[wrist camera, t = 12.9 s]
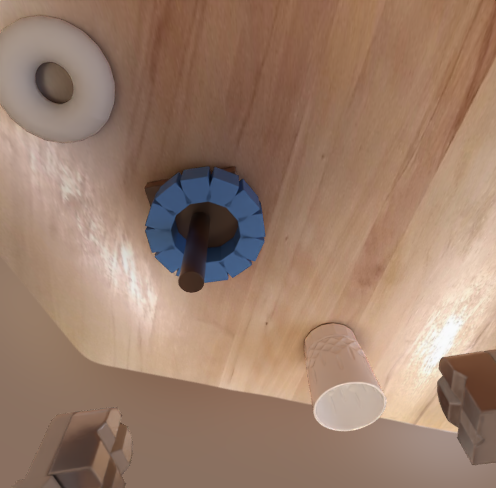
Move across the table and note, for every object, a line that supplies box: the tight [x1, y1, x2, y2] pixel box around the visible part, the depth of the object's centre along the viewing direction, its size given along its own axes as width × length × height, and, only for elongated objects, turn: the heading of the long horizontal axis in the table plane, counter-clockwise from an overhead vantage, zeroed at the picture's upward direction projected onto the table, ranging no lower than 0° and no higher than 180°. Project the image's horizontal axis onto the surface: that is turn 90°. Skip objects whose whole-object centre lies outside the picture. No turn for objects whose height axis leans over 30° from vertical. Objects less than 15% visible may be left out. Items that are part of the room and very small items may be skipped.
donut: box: [0, 15, 115, 143], centre depth 33 cm, size 10×3×10 cm
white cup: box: [304, 323, 386, 431], centre depth 47 cm, size 8×8×10 cm
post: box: [145, 167, 238, 293], centre depth 36 cm, size 9×9×12 cm
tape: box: [145, 166, 265, 283], centre depth 39 cm, size 11×11×3 cm
